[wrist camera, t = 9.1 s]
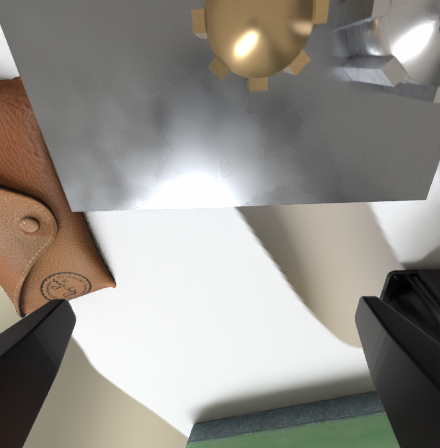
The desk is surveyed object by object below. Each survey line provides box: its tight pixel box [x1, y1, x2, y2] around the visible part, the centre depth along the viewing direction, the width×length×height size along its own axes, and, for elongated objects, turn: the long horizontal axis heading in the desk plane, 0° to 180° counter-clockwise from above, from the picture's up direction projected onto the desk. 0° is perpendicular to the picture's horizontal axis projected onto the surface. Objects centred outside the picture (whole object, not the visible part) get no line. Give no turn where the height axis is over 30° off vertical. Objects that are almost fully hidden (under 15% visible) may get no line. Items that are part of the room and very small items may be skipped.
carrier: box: [0, 0, 440, 212], centre depth 12 cm, size 20×24×6 cm
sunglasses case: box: [0, 76, 116, 318], centre depth 20 cm, size 18×7×7 cm, turn 7°
